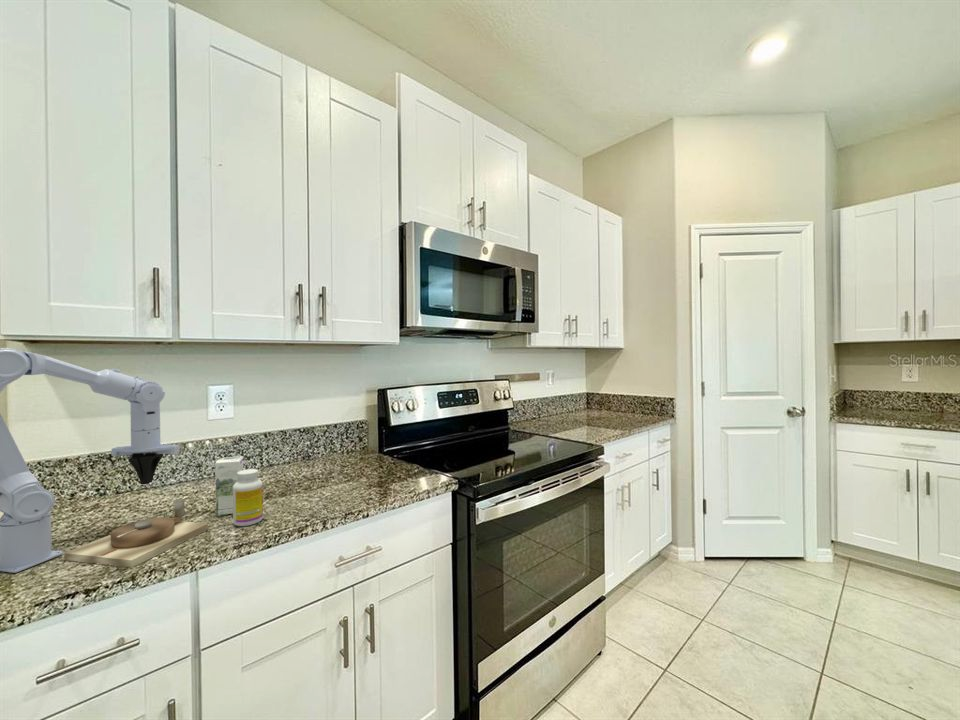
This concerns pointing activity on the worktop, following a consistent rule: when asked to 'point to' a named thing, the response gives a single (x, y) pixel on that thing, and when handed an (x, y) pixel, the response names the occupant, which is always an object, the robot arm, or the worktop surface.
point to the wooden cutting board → (135, 555)
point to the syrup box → (226, 483)
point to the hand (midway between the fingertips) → (146, 483)
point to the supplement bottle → (247, 498)
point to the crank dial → (147, 529)
